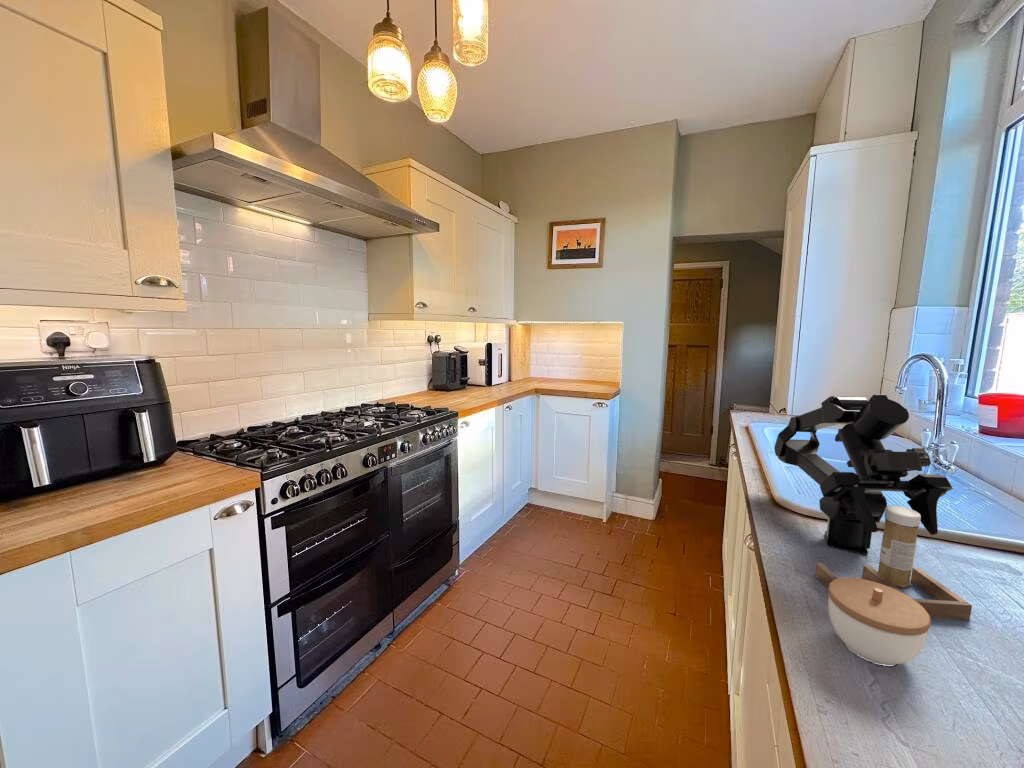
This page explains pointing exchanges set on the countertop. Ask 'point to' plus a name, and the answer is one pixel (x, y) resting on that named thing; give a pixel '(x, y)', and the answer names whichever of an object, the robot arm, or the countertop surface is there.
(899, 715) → the countertop surface
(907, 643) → the lidded jar
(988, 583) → the countertop surface
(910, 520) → the sprinkles bottle
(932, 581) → the walnut lanes
